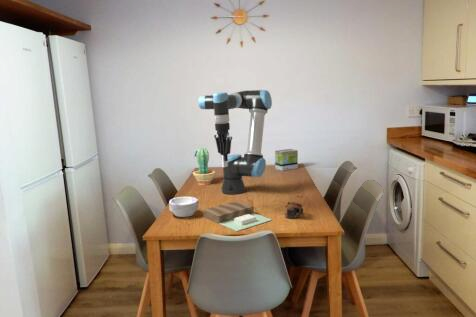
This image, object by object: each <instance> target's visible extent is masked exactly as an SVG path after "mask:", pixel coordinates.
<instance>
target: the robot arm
mask: <svg viewBox="0 0 476 317" xmlns="http://www.w3.org/2000/svg"><path fill="white" fill-rule="evenodd" d="M272 101H273V100H272V96H271V93H270V92H269V91H268V90H266V89H265V90H264V89H257V90H255V89H254V90H240V91H237V92H231V93H230V94H228V93H227V92H225V91H222V92H220V91H219V92H214V93H213V94H211V95H206V94H205V95H201V96H199V97H198V101H197V102H198V103H197V105H198V108H200V110H206V111H207V110H213V111H214V123H215V124H214V128H215V131H216V134H214V135H213V137H214V139H215V145H216V147H217V148H216V149H217V152H218V154H220V158H221V166H222V173H223V182H222V185H221V188H220V189H221V190H220V191H221V193H223V194H225V195H238V194H243V193H245V192H246V186H245V183H244V180H243V177H250V178H260V177H261V176H263V175H264V173H265V170H266V167H267V163H266V162H267V161H266V159H265V158H264V155H263V154H262V144H263V137H264V136H263V134H264V127H265V116H266V115H267V114H268V111H269V110H270V109H271V108H272V107H273V106H272V105H273V102H272ZM232 109H233V110H234V109H243V110H248V112H249V113H250V120H249V129H248V130H249V131H248V139H247V146H246V147H247V148H246V149H247V150H246V151H245V153H243V154H244V156H242V154H240V153H238V154H236V153H235V154H231V150H232V149H231V148H232V140H233V136H230V133H229V131H230V128H231V127H230V126H231V125H230V114H229V113H230V112H229V111H230V110H232Z"/></svg>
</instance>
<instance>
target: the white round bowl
mask: <svg viewBox="0 0 476 317" xmlns="http://www.w3.org/2000/svg"><path fill="white" fill-rule="evenodd" d="M168 205H169V206H168V207H169V211H170V212H171V213H173V214H174V215H175V216H176V217H178V218H188V217H190V216H191V217H192V216H193V215H194V214H195V212H197V211H198V210H199V199H198V198H197V197H193V196H178V197H174V198H171V199H169V202H168Z"/></svg>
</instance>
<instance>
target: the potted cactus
mask: <svg viewBox="0 0 476 317" xmlns="http://www.w3.org/2000/svg"><path fill="white" fill-rule="evenodd" d="M209 156H210V153H209V151H208V150H207V148H206V147H203V146H202V147H199V148H197V149H195V151H194V153H193V157H194V159H195V157H196V161H197V164H198V170H195V171H193V172H192V175H193V177H194V179H195V180H196V182H197V185H199V186H206V185H208V186H209V185H211V184H212V180H213V179H214V176H215V173H216V171H215V170H212V169H209V160H210V157H209Z"/></svg>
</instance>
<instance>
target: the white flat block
mask: <svg viewBox="0 0 476 317" xmlns="http://www.w3.org/2000/svg"><path fill="white" fill-rule="evenodd" d="M254 221H256V217H255V216H252V215H250V214H247V215H243V216H240V217H236V218H234V222H235V223H238V224H240V225H244V224H247V223H251V222H254Z"/></svg>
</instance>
